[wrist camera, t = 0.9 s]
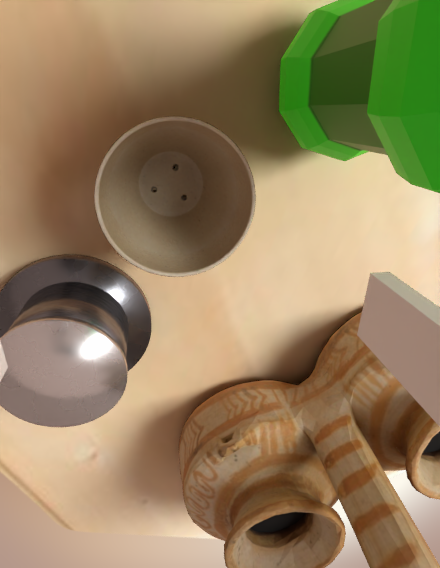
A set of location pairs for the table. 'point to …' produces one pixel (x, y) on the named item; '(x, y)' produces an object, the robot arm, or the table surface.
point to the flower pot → (174, 196)
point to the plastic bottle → (368, 84)
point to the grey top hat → (69, 339)
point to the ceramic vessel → (312, 464)
